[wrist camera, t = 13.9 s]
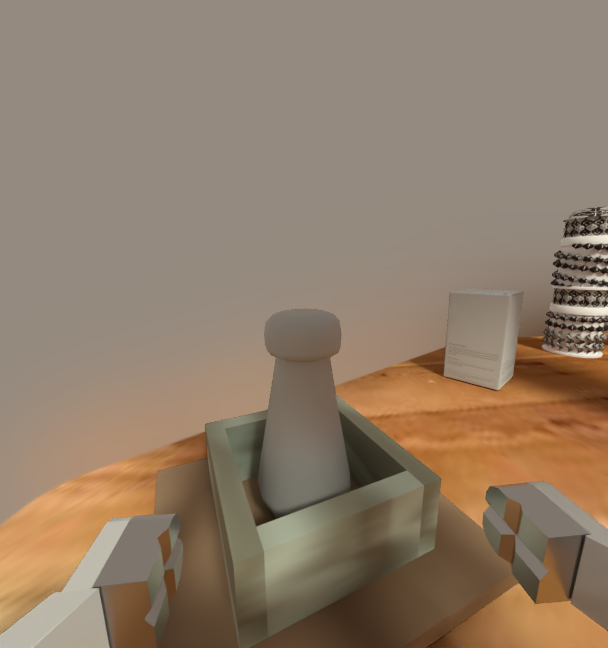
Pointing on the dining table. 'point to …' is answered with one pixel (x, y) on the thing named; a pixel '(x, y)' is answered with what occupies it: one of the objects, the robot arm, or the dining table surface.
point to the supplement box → (482, 336)
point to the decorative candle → (580, 287)
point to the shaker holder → (321, 550)
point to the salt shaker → (302, 414)
